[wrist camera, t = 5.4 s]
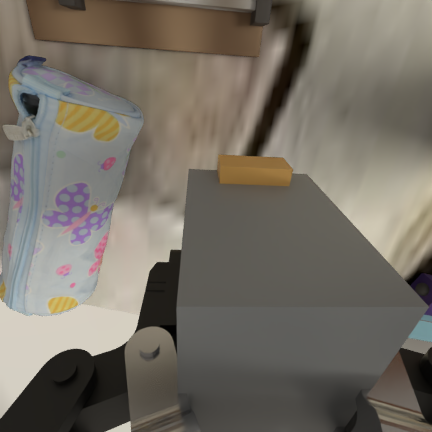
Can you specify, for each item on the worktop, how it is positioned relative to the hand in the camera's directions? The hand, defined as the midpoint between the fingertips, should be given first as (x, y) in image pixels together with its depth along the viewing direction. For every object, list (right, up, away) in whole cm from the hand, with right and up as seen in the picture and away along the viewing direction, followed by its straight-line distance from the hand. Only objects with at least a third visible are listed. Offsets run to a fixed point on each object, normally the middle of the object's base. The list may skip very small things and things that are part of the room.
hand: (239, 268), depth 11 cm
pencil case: (-14, +6, +16) cm, 22 cm away
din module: (0, 0, +1) cm, 1 cm away
